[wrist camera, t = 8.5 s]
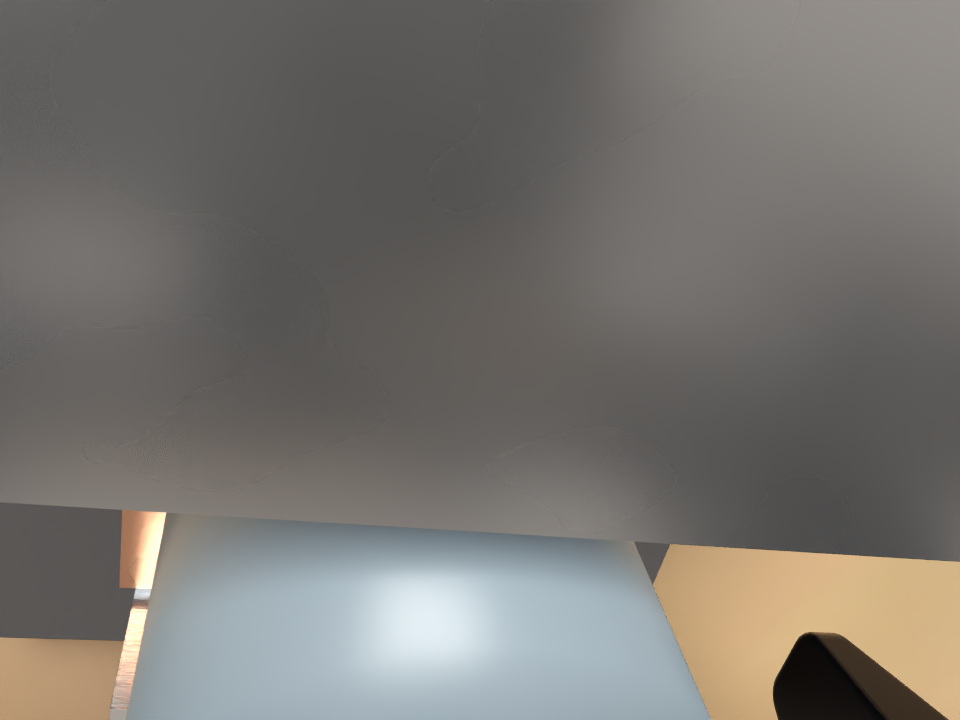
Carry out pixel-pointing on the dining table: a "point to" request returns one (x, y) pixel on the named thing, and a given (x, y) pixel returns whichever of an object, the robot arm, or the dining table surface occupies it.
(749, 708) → the dining table surface
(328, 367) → the motor mount
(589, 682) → the grey round-ended capsule
